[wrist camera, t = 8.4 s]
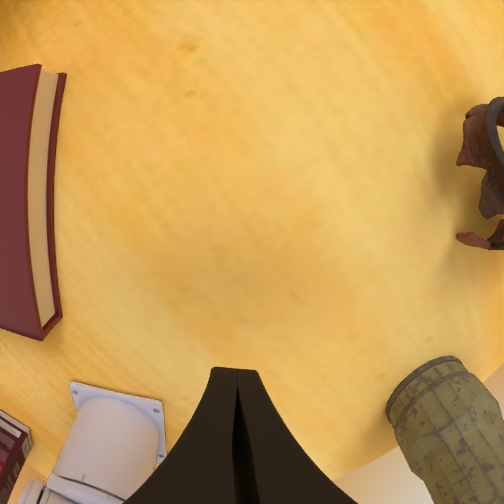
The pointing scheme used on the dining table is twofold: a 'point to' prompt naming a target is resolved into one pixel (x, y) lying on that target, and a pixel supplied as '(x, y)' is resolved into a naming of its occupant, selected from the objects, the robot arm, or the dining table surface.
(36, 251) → the book
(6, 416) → the supplement box
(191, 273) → the dining table surface
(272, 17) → the dining table surface
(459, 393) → the thermos
